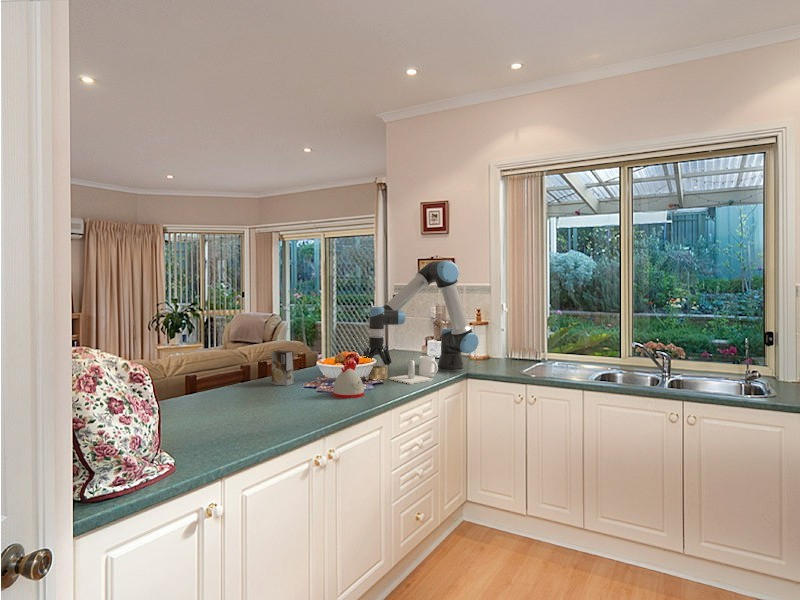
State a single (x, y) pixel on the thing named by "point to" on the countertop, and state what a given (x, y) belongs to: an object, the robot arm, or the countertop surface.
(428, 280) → the robot arm
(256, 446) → the countertop surface
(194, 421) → the countertop surface
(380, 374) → the collar
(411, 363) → the post stand
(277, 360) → the coffee box
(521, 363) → the countertop surface
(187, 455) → the countertop surface
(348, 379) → the kitchen timer
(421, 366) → the mug
